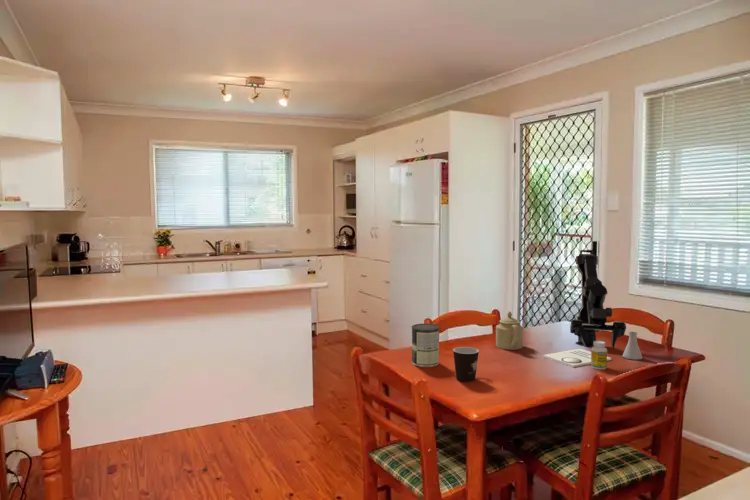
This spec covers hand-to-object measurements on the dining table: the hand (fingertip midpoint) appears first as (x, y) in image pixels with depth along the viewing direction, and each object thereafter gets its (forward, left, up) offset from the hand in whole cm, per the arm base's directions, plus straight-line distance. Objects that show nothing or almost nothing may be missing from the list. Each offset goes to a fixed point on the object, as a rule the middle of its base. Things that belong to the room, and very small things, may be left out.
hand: (599, 347), depth 189 cm
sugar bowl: (-36, -9, -8) cm, 38 cm away
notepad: (-12, +2, -8) cm, 15 cm away
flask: (-3, +22, -8) cm, 24 cm away
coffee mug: (-12, -49, -8) cm, 51 cm away
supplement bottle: (0, 0, -8) cm, 8 cm away
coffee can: (-34, -53, -8) cm, 63 cm away
